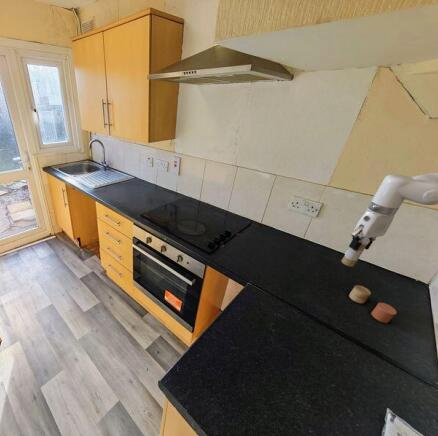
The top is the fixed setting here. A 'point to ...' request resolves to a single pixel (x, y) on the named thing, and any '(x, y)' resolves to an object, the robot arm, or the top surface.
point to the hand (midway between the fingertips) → (358, 247)
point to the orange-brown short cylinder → (383, 312)
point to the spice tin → (359, 294)
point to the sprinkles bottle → (354, 253)
